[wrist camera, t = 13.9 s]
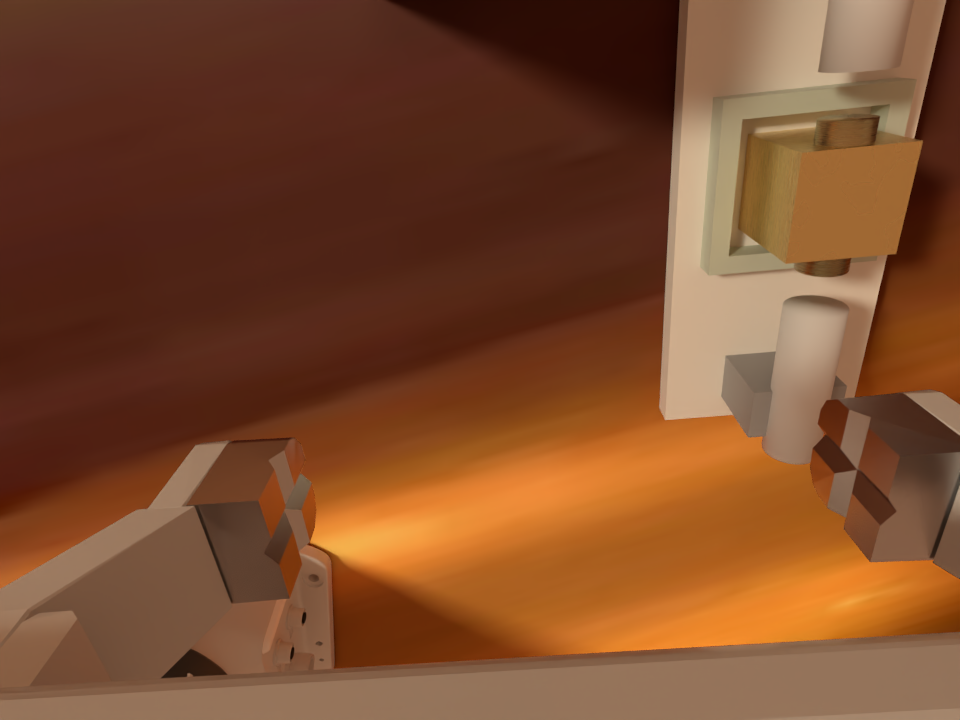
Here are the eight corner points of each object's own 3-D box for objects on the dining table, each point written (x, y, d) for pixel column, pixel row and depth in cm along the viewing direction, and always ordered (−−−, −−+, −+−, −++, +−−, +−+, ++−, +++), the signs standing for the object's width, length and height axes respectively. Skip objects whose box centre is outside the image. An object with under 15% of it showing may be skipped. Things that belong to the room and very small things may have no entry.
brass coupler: (827, 237, 33) (891, 274, 28) (736, 245, 34) (782, 283, 28) (851, 102, 30) (928, 115, 25) (750, 113, 30) (805, 128, 25)
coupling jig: (840, 393, 40) (910, 463, 33) (659, 407, 40) (692, 478, 34) (967, -195, 26) (1134, -278, 19) (687, -158, 26) (754, -225, 20)
